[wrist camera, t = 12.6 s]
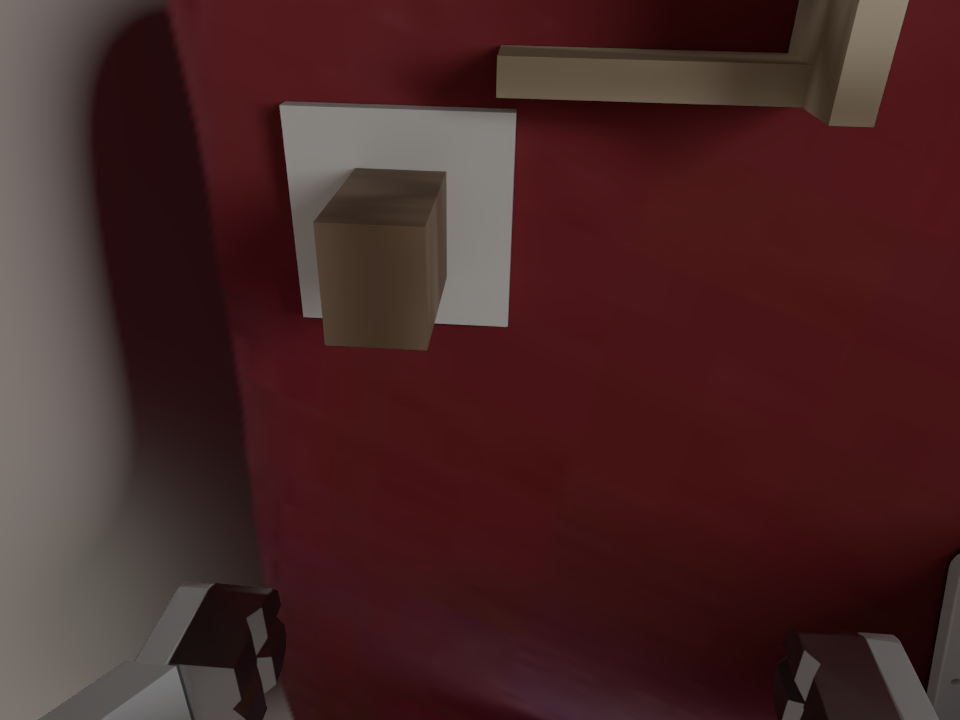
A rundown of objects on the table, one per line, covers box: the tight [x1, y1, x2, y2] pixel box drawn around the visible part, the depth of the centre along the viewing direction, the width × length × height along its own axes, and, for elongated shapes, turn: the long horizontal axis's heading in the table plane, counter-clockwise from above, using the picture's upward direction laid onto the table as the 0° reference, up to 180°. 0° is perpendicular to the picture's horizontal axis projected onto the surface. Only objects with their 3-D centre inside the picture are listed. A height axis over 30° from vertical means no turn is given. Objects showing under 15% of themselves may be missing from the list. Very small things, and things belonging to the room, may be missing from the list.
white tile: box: [279, 101, 517, 327], centre depth 34 cm, size 10×10×1 cm
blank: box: [313, 168, 447, 350], centre depth 31 cm, size 4×5×7 cm
